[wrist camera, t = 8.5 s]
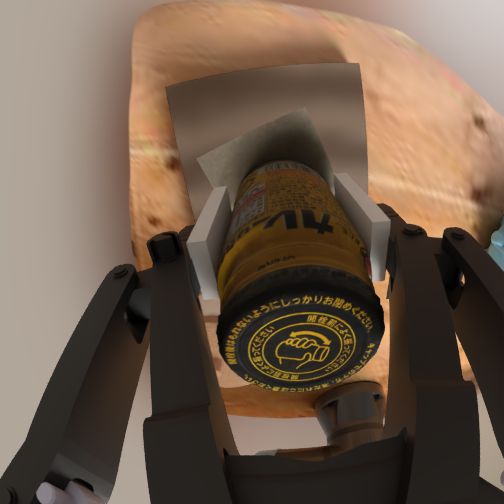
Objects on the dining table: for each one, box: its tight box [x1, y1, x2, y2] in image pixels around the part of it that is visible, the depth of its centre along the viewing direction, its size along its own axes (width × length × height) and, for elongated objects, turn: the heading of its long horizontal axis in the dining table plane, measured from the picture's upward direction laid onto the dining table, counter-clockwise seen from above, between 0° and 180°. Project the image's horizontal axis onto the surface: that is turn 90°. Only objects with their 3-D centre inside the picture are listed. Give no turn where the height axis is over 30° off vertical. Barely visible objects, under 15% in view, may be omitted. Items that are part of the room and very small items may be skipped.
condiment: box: [197, 107, 385, 392], centre depth 13 cm, size 7×8×12 cm
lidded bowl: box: [198, 294, 252, 388], centre depth 35 cm, size 13×13×11 cm
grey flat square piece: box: [165, 63, 368, 223], centre depth 27 cm, size 18×18×3 cm
